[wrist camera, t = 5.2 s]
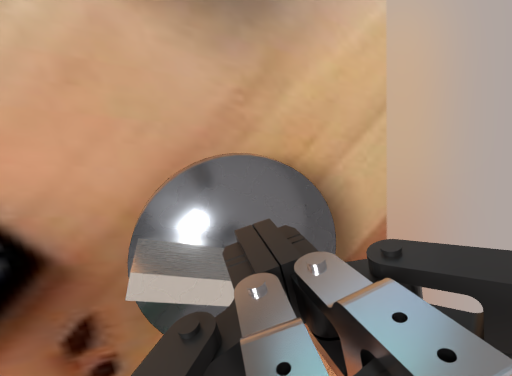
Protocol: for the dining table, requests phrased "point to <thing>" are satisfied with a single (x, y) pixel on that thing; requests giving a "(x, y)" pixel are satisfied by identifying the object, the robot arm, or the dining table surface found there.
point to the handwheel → (214, 231)
